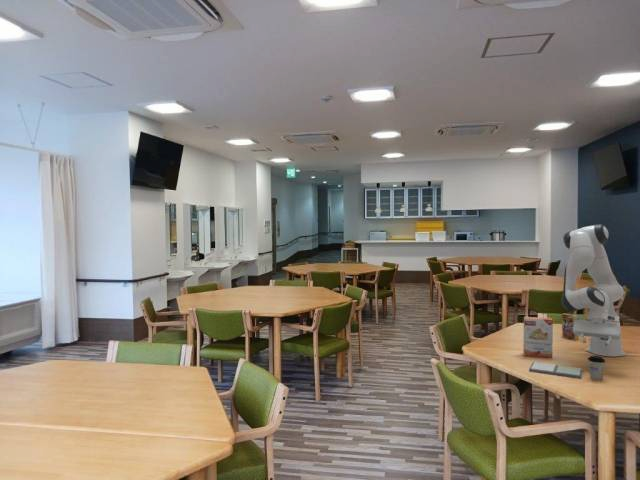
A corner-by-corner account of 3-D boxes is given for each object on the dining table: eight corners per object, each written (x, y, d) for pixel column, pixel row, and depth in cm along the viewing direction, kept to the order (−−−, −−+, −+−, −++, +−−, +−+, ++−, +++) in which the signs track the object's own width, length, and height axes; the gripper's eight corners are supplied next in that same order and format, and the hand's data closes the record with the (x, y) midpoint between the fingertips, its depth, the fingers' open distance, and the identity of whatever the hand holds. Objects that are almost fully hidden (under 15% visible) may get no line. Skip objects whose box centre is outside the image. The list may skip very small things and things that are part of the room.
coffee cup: (598, 376, 212) (598, 354, 212) (608, 380, 205) (608, 359, 205) (584, 376, 212) (584, 355, 212) (593, 381, 205) (593, 359, 205)
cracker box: (524, 356, 246) (524, 318, 246) (523, 353, 252) (523, 316, 251) (553, 358, 241) (552, 319, 241) (551, 355, 247) (551, 317, 247)
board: (533, 363, 232) (533, 361, 232) (582, 370, 220) (582, 368, 220) (529, 371, 221) (529, 368, 220) (581, 378, 209) (581, 376, 209)
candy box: (561, 337, 287) (561, 313, 287) (566, 336, 289) (566, 313, 288) (574, 340, 279) (574, 316, 278) (579, 339, 280) (579, 315, 280)
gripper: (573, 314, 229) (570, 336, 222) (621, 318, 217) (619, 342, 209) (574, 321, 233) (571, 344, 225) (622, 326, 220) (620, 350, 213)
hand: (595, 343), depth 217 cm, fingers open, 8 cm apart
